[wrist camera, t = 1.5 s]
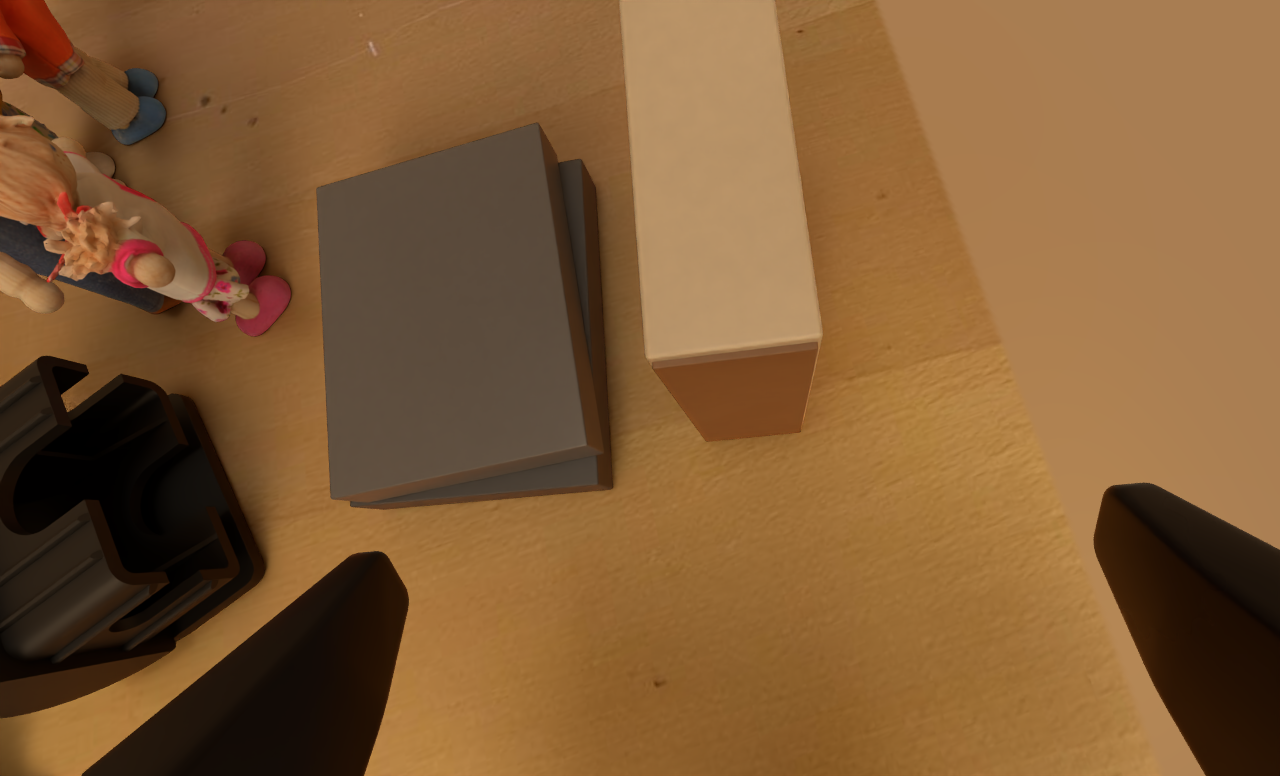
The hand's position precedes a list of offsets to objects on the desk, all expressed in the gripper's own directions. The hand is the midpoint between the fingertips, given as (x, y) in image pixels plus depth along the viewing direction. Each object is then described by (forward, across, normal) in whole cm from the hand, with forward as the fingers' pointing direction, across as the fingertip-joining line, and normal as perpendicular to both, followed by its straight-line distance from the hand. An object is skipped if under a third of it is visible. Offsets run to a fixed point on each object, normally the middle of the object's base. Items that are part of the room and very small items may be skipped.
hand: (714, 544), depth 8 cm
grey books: (+16, +9, +4) cm, 19 cm away
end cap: (+12, +24, +8) cm, 28 cm away
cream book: (+16, 0, +4) cm, 16 cm away
